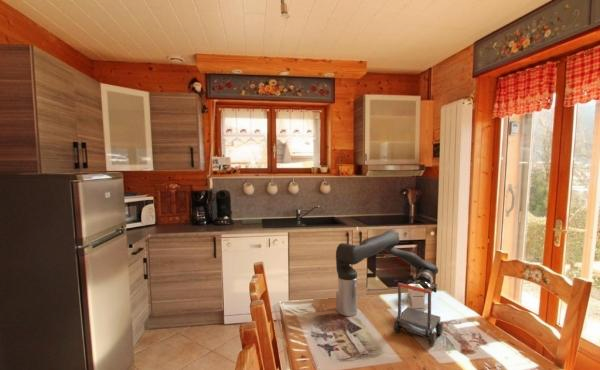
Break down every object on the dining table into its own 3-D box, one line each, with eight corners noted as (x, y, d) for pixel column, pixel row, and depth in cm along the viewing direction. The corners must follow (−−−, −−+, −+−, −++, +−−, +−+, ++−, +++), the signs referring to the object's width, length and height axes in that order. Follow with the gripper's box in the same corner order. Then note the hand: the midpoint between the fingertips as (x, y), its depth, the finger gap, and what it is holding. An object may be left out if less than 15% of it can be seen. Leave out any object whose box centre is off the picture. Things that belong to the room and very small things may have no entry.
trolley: (393, 333, 124) (393, 283, 123) (407, 320, 136) (407, 274, 135) (431, 347, 114) (432, 293, 113) (443, 331, 126) (443, 282, 125)
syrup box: (424, 319, 137) (424, 288, 136) (411, 319, 137) (411, 288, 136) (419, 313, 142) (420, 283, 142) (407, 313, 142) (407, 283, 142)
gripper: (410, 271, 166) (404, 280, 152) (438, 275, 158) (435, 285, 145) (410, 284, 166) (404, 294, 152) (438, 289, 159) (435, 300, 145)
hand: (419, 290), depth 148 cm, fingers open, 8 cm apart
